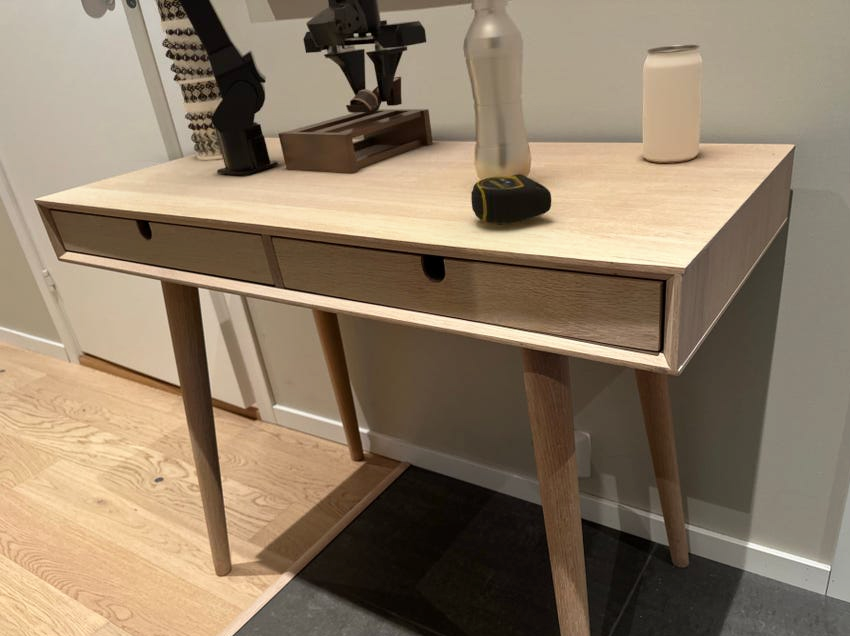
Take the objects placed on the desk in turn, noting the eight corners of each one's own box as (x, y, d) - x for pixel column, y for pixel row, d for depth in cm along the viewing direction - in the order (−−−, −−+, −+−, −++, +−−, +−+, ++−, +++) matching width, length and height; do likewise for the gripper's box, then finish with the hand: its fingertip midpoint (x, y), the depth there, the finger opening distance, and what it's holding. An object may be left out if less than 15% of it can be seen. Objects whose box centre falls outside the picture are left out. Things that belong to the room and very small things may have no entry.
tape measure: (555, 222, 66) (553, 182, 64) (486, 235, 65) (482, 195, 63) (529, 205, 72) (526, 168, 70) (465, 217, 70) (461, 180, 69)
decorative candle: (262, 149, 118) (221, -20, 106) (212, 162, 112) (163, -15, 100) (234, 146, 123) (192, -15, 112) (185, 158, 118) (135, -10, 106)
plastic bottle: (468, 192, 79) (446, -8, 70) (488, 176, 85) (470, -11, 75) (522, 191, 77) (507, -15, 68) (540, 175, 82) (528, -17, 73)
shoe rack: (286, 169, 101) (278, 133, 99) (369, 141, 114) (364, 109, 111) (352, 173, 94) (345, 134, 92) (433, 143, 107) (428, 109, 105)
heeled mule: (337, 116, 102) (332, 88, 100) (391, 103, 109) (387, 76, 108) (357, 117, 99) (352, 88, 98) (412, 103, 107) (408, 76, 105)
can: (710, 154, 83) (716, 44, 77) (672, 166, 80) (675, 52, 74) (668, 148, 88) (671, 44, 82) (631, 159, 85) (631, 51, 79)
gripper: (263, -8, 96) (289, 111, 103) (364, -22, 86) (385, 111, 93) (321, -13, 104) (341, 98, 111) (420, -26, 94) (435, 97, 101)
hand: (373, 101), depth 104 cm, fingers closed on heeled mule, 4 cm apart
